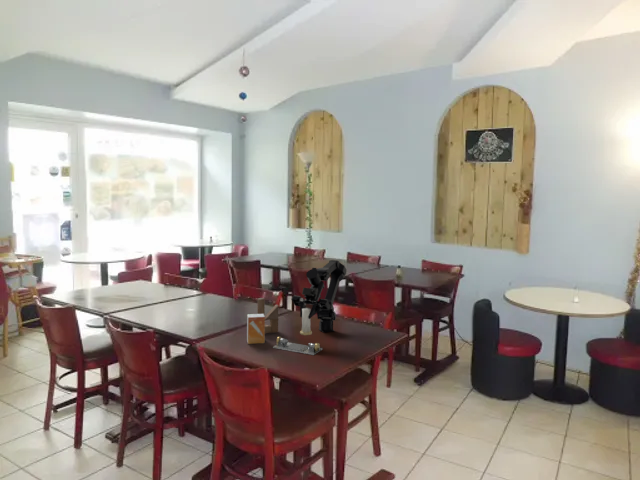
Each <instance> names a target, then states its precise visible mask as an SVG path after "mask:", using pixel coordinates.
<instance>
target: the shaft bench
mask: <svg viewBox="0 0 640 480" xmlns="http://www.w3.org/2000/svg"><path fill="white" fill-rule="evenodd" d="M275 341H276V342H275V343H276V345H274V346H273V347H272V348H273V349H277V350H283V351H287V352H293V353H299V354H304V355H310V356H314V355H316V354H317V353H319V352H321V351H322V350H323V347H321V344H320V343H319V342H315V343H312V342H309V343H308V344H307V345H306V344H300V343H295V342H289V340H288V339H287V338H284V337H282V336H277V338H276V340H275Z"/></svg>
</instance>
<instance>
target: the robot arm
mask: <svg viewBox="0 0 640 480" xmlns="http://www.w3.org/2000/svg"><path fill="white" fill-rule="evenodd" d="M346 274H347V268H346V266H345V264H343V263H341V262H340V261H339V260H336V259H331V260H329V261H328V262H327V263H326V264H325V265H323V267H318V268H317V267H312V268H311V269H309V270H308V271H306V278H307V280H308V282H309V284H310V285H311V286H310V287H303V288H302V293H301V295H303V297H304V298H303V297H302V296H300V295H293V296H292V297H291V301H292V302H293V303H292V304H293V305H294V306H296V307H300V308H299V309H300V310H299V311H300V313H299V314H300V316H299V317H300V318H301V319H302V309H303V308H307V306H306V305H312V307H311V308H310V309H311V312H310V314H309V317H308V318H309V319H310V320H311V318H313V317H314V316H315V315H316V317H317V320H319V324H318V330H319V331H320V332H322V333H331V332H335V329H334V321H336V320H337V314H336V312H335V307H334V301H335V298H336V294H337V291H338V288H339V285H340V283H341V282H342V280H344V278H345V276H346ZM330 277H331V280H330V282H329V285H328V288H327V291H326V295H325V296H324V298H321V297H322V295H321V293H322V290H323V289H325V283H324V282H327V281H328V280H329V279H330Z"/></svg>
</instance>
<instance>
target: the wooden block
mask: <svg viewBox="0 0 640 480" xmlns="http://www.w3.org/2000/svg"><path fill="white" fill-rule="evenodd" d="M265 300H266V299H265V297H259V298H257V311H256V312H257V313H256V314H264V316H265V321H268V320H269V324H265V334H271V333H272V334H275V333H278V332H279V305H278V304H275V305H274V306H273V307H272V308H271V309H270V310H269V311H268V312H267V313H266V314H265V312H266V311H265V309H266V308H265V307H266V306H265V303H266V301H265Z"/></svg>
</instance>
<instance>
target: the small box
mask: <svg viewBox="0 0 640 480" xmlns="http://www.w3.org/2000/svg"><path fill="white" fill-rule="evenodd" d="M246 315H247V316H246V317H247V318H246V321H247V322H246V341H247V344H248V345H252V344H254V345H255V344H265V341H266V340H265V339H266V337H265V335H266V333H265V325H266V320H265V316H266V315H265V316H264V314H257V313H251V314H249V313H248V314H246Z"/></svg>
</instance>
